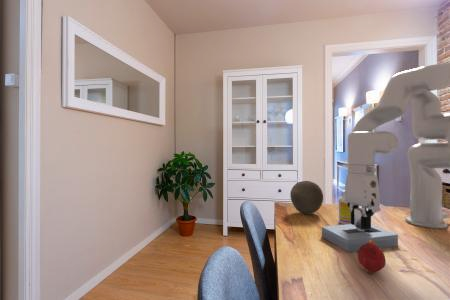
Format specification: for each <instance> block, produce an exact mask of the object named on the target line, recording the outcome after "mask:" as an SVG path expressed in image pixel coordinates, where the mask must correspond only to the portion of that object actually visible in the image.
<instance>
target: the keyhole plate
mask: <svg viewBox="0 0 450 300" xmlns="http://www.w3.org/2000/svg"><path fill="white" fill-rule="evenodd" d="M321 237H322V238H323V239H325V240H327V241H329V242H330V243H332V244H333V245H335V246H337V247H339V248H341V249H342V250H344V251H346V252H347V253H351V252H358V250H359V248H360V247H361V246H362V245H364V244H367V243H368V242H369V240H371V239H372V240H373V241H374V244H375V245H377V246H378V247H379V248H380V249H381V248H382V249H383V248H389V247H398V246H399V235H398V233H394V232H392V231H389V230H387V229H384V228H383V227H382V228H381V227H379V226H376V225H373V224H371V228H370V229H364V232H359V233H357V227H355V226H354V225H352V224H346V225H345V224H337V225H328V226H321Z"/></svg>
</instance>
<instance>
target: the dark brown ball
mask: <svg viewBox="0 0 450 300" xmlns="http://www.w3.org/2000/svg"><path fill="white" fill-rule="evenodd" d="M323 193H324V192H323V191H322V189H321V187H320V186H319V185H318V183H315V182H313V181H309V180H303V181H299V182H296V183H295V184H294V185H293V186H292V188H291V189H290V193H289V195H290V200H291V202H292V205H293V207H294V208H295V209H296V211H297V212H299V213H301V214H304V215H310V214H313V213H315V212H317V211H319V209H320V208H321V206H322V205H323V203H324V194H323Z"/></svg>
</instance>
